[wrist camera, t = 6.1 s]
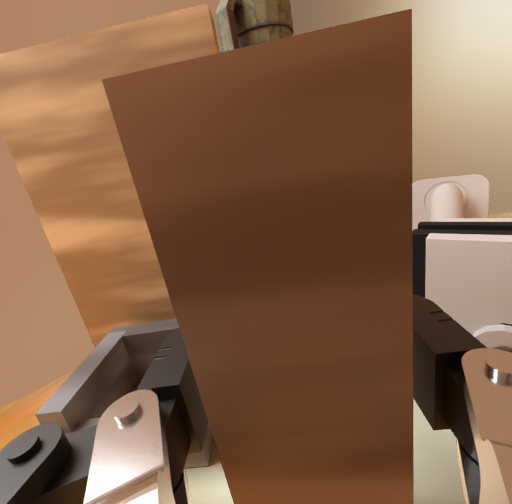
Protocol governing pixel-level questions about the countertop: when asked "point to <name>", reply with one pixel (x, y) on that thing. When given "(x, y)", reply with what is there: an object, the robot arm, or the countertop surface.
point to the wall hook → (449, 198)
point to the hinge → (468, 274)
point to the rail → (289, 252)
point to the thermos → (252, 22)
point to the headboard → (97, 197)
